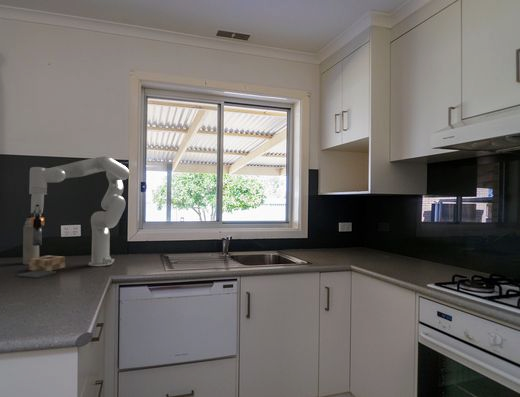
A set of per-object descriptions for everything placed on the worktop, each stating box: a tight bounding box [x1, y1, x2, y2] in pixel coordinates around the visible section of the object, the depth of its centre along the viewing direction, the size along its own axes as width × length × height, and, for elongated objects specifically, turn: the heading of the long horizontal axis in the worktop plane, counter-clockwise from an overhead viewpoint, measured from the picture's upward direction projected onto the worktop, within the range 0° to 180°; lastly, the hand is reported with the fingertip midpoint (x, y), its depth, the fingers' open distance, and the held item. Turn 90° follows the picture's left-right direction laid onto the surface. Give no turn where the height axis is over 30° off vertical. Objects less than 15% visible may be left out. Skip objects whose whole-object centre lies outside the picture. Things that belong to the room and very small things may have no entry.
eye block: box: [28, 255, 66, 271], centre depth 189 cm, size 12×12×6 cm
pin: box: [30, 216, 45, 246], centre depth 174 cm, size 6×6×14 cm
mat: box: [16, 270, 57, 279], centre depth 174 cm, size 12×12×1 cm
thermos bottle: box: [22, 215, 40, 265], centre depth 202 cm, size 8×8×28 cm
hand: (37, 226), depth 174 cm, fingers closed on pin, 6 cm apart
